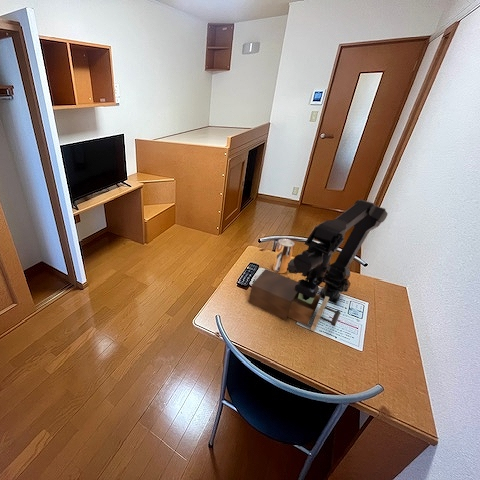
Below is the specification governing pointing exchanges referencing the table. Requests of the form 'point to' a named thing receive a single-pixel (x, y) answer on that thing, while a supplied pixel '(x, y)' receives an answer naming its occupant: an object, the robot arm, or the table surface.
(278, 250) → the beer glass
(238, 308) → the table surface
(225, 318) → the table surface
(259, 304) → the cabinet
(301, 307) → the drawer
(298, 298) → the block
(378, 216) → the robot arm
